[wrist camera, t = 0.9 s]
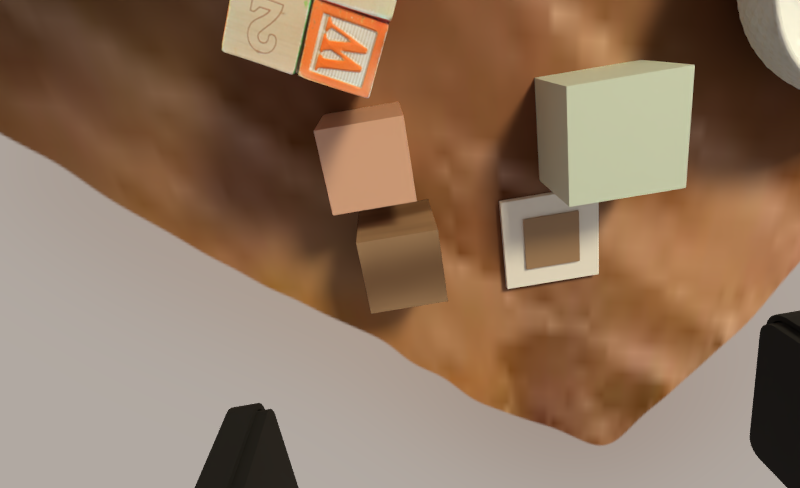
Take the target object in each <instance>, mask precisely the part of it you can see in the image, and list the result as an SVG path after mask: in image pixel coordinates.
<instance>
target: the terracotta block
mask: <svg viewBox="0 0 800 488" xmlns="http://www.w3.org/2000/svg"><path fill="white" fill-rule="evenodd" d="M314 135H315V139H316V144H317V148H318V153H319V157H320V161H321V166H322V170H323V174H324V179H325V183H326V187H327V192H328V196H329V201H330V205H331V209H332V214H333V215H339V214H345V213H351V212H356V211H362V210H368V209H374V208H380V207H386V206H392V205H398V204H404V203H410V202H416V201H417V199H416V193H415V186H414V180H413V174H412V167H411V161H410V154H409V148H408V141H407V135H406V128H405V122H404V115H403V113H402V110H401V107H400V104H399V102H393V103H387V104H381V105H375V106H370V107H364V108H358V109H352V110H347V111H341V112H335V113H329V114H324V115H323V116H322V118H321V120H320V121H319V123H318V124H317V126H316V128H315V129H314Z"/></svg>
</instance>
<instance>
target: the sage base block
mask: <svg viewBox="0 0 800 488" xmlns="http://www.w3.org/2000/svg"><path fill="white" fill-rule="evenodd" d="M694 71H695V65H693V64H682V63H671V62H660V61H649V60H637V61H631V62H625V63H619V64H613V65H607V66H601V67H596V68H590V69H584V70H578V71H572V72H566V73H560V74H554V75H549V76H543V77H537V78H534V80H535V101H536V122H537V143H538V163H539V181H541V182H542V183H543V184H544V185H545V186H546V187H547V188H548V189H550V190H551V191H552V192H553V193H554V194H555V195H556V196H558V197H559V198H560V199H561V200H562V201H563V202H564V203H565V204H567V205H568V206H569V207H572V206H579V205H585V204H591V203H597V202H603V201H609V200H615V199H621V198H627V197H633V196H639V195H645V194H651V193H657V192H663V191H669V190H675V189H681V188H686V180H687V166H688V152H689V139H690V125H691V112H692V98H693V85H694Z"/></svg>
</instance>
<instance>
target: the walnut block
mask: <svg viewBox="0 0 800 488" xmlns="http://www.w3.org/2000/svg"><path fill="white" fill-rule="evenodd" d="M356 245H357V250H358V255H359V259H360V264H361V269H362V273H363V278H364V283H365V287H366V292H367V297H368V301H369V306H370V311H371V314H373V313H379V312H385V311H391V310H397V309H403V308H409V307H415V306H421V305H428V304H434V303H440V302H446V301H448V298H447V291H446V284H445V277H444V270H443V263H442V256H441V249H440V241H439V234H438V229H437V225H436V222H435V219H434V216H433V213H432V210H431V207H430V204H429V201H428V199H426V200H421V201H416V202H410V203H404V204H398V205H392V206H386V207H380V208H374V209H368V210H362V211H359V216H358V228H357V239H356Z"/></svg>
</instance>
